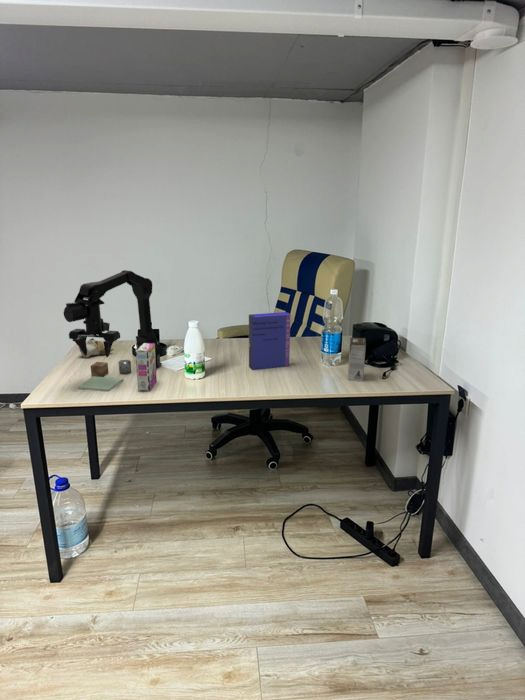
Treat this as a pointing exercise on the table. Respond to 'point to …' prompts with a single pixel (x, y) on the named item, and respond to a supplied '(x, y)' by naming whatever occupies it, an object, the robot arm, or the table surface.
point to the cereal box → (269, 340)
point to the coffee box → (356, 359)
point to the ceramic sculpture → (94, 348)
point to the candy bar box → (146, 366)
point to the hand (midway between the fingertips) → (96, 356)
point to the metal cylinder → (125, 367)
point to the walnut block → (99, 369)
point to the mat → (101, 383)
